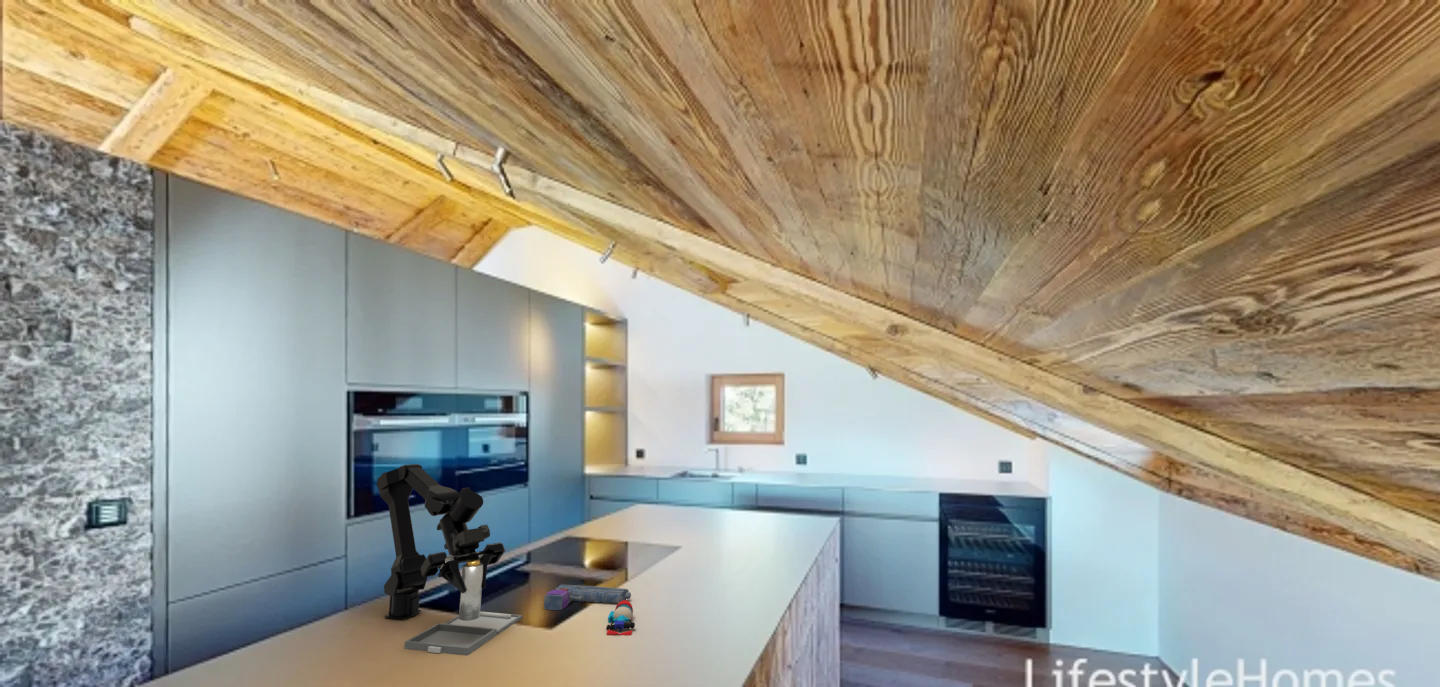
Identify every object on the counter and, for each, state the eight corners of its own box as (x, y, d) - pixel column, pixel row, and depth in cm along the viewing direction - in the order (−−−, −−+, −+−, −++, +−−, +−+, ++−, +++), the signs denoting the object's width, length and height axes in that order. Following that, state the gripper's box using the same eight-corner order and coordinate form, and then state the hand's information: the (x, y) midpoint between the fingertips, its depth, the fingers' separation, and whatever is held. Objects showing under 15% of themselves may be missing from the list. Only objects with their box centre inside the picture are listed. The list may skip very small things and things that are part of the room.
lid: (437, 633, 148) (437, 624, 148) (467, 616, 160) (468, 607, 160) (495, 639, 145) (496, 630, 145) (522, 621, 157) (522, 612, 158)
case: (401, 654, 136) (402, 642, 136) (437, 633, 148) (438, 623, 148) (465, 661, 133) (466, 649, 133) (496, 639, 145) (497, 628, 145)
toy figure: (634, 642, 150) (638, 611, 165) (632, 623, 149) (637, 594, 164) (603, 644, 149) (611, 613, 164) (602, 625, 149) (610, 596, 164)
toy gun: (617, 598, 164) (633, 585, 179) (537, 593, 168) (559, 580, 182) (617, 615, 163) (632, 600, 178) (536, 609, 167) (558, 595, 182)
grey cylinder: (454, 619, 140) (458, 562, 141) (466, 612, 144) (470, 557, 145) (472, 621, 139) (476, 564, 140) (483, 614, 143) (487, 559, 145)
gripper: (429, 519, 139) (447, 578, 131) (504, 510, 153) (524, 563, 145) (413, 547, 144) (429, 606, 136) (487, 536, 158) (505, 588, 149)
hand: (474, 589), depth 141 cm, fingers closed on grey cylinder, 5 cm apart
